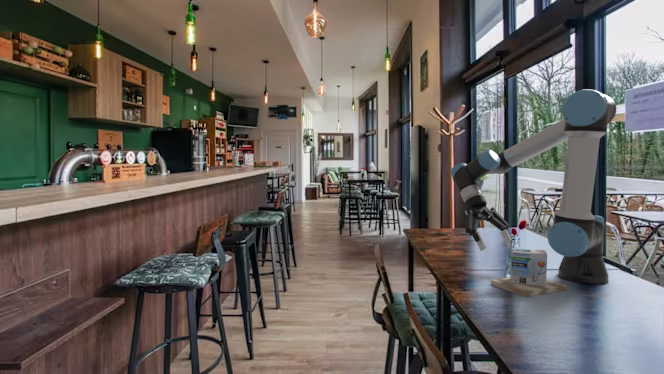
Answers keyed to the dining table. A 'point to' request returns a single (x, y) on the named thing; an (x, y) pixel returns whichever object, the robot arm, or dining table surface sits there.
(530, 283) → the light bulb box
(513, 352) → the dining table surface
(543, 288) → the birch board
